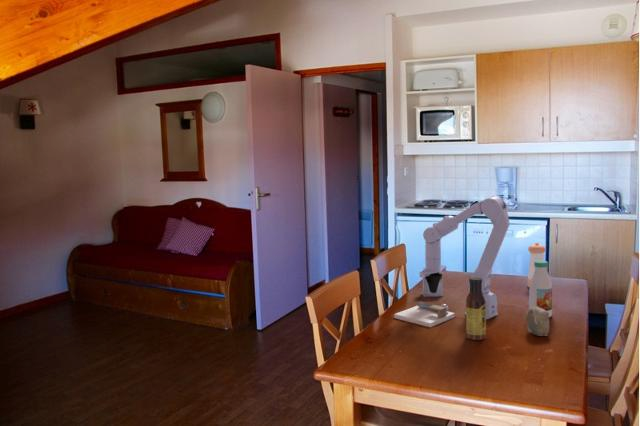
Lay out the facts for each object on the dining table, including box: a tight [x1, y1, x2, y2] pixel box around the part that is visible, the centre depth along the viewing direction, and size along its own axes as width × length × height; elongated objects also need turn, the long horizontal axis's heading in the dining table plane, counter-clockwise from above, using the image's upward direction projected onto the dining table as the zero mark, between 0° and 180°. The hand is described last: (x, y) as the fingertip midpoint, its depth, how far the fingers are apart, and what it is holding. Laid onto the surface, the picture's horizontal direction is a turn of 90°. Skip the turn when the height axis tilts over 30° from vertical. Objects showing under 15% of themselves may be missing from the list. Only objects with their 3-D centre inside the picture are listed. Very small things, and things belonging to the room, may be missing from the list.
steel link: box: [417, 301, 449, 314], centre depth 209 cm, size 13×3×3 cm, turn 43°
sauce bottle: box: [465, 276, 487, 341], centre depth 183 cm, size 7×6×20 cm
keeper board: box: [394, 304, 456, 328], centre depth 206 cm, size 16×15×5 cm
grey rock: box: [525, 306, 550, 337], centre depth 185 cm, size 9×8×10 cm
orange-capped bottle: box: [527, 242, 547, 288], centre depth 241 cm, size 7×7×19 cm
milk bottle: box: [528, 260, 553, 318], centre depth 203 cm, size 8×8×20 cm
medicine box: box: [422, 276, 444, 298], centre depth 234 cm, size 8×4×9 cm, turn 84°
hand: (433, 292), depth 216 cm, fingers closed
